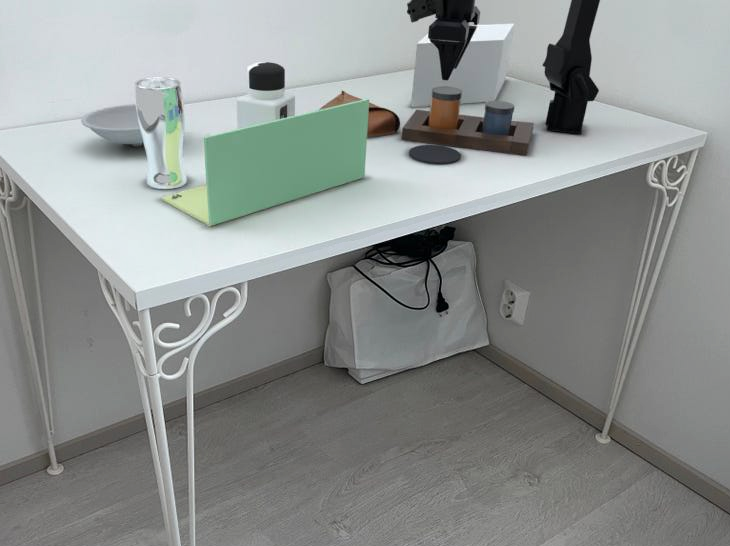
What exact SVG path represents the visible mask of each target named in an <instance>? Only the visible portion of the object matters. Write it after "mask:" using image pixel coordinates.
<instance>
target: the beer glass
mask: <svg viewBox="0 0 730 546" xmlns="http://www.w3.org/2000/svg"><path fill="white" fill-rule="evenodd" d="M134 87H135V88H134V92H135V93H134V94H135V104H136V113H137V120H138V125H139V130H140V133H141V137H142V140H143V143H142V145H143V147H144V151H145V153H146V161H147V173H146V183H147V185H148V186H149V187H151V188H153V189H157V190H174V189H178V188H181V187H183V186H185V185H186V184H187V181H188V179H187V175H186V171H185V167H184V160H183V151H184V150H183V148H184V139H185V127H186V126H185V125H186V124H185V123H186V117H185V105H184V104H185V103H184V98H183V90H182V82H181V81H180V80H179V79H178V78H173V77H167V76H166V77H165V76H153V77H145V78H140V79H138V80H136V81H135V82H134Z"/></svg>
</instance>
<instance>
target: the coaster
mask: <svg viewBox="0 0 730 546" xmlns="http://www.w3.org/2000/svg"><path fill="white" fill-rule="evenodd" d="M408 156H409V157H410V158H411V159H412V160H414V161H416V162H420V163H423V164H430V165H450V164H455V163H457V162H459V161H460V160H461V157H462V154H461V152H460V151H458V150H457V149H456V148H452V147H450V146H446V145H438V144H421V145H417V146H413V147H411V148H410V149H409V150H408Z"/></svg>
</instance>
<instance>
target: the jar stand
mask: <svg viewBox="0 0 730 546" xmlns="http://www.w3.org/2000/svg"><path fill="white" fill-rule="evenodd" d="M429 114H430V110H424V109H416V110H415V111H414V112H413V113H412V114H411V115H410V117H409V119H408V120H407V121H406V123H405V124H404V125H403V126H402V129H401V138H400V140H401V141H405V142H406V141H407V142H415V143H423V144H429V145H439V146H445V147H454V148H455V147H456V148H463V149H471V150H478V151H487V152H495V153H503V154H510V155H517V156H518V155H519V156H527V155H528V152H529V149H530V144H531V141H532V138H533V132H534V128H535V127H534V126H535V123H534V122H527V121H518V120H512V122H511V127H510V133H509V136H506V135H497V134H489V133H482V127H483V120H484V116H476V115H467V114H460V113H459V118H458V126H457V130H455V129H447V128H439V127H430V126H428V123H429Z"/></svg>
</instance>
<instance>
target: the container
mask: <svg viewBox="0 0 730 546" xmlns="http://www.w3.org/2000/svg"><path fill="white" fill-rule="evenodd" d="M246 91H247V93H246V94H244V95H242V96H239V97H238V98H236V127H237V128H236V129H240V128H245V127H249V126H253V125H258V124H262V123H266V122H270V121H275V120H279V119H283V118H287V117H292V116H296V96H295V94H294V93H293V94H292V93H287V92H286V70H285V68H284V66H282V65H280V64H278V63H276V62H270V61H260V62H255V63H252V64H250V65H248V66H247V68H246Z"/></svg>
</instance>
